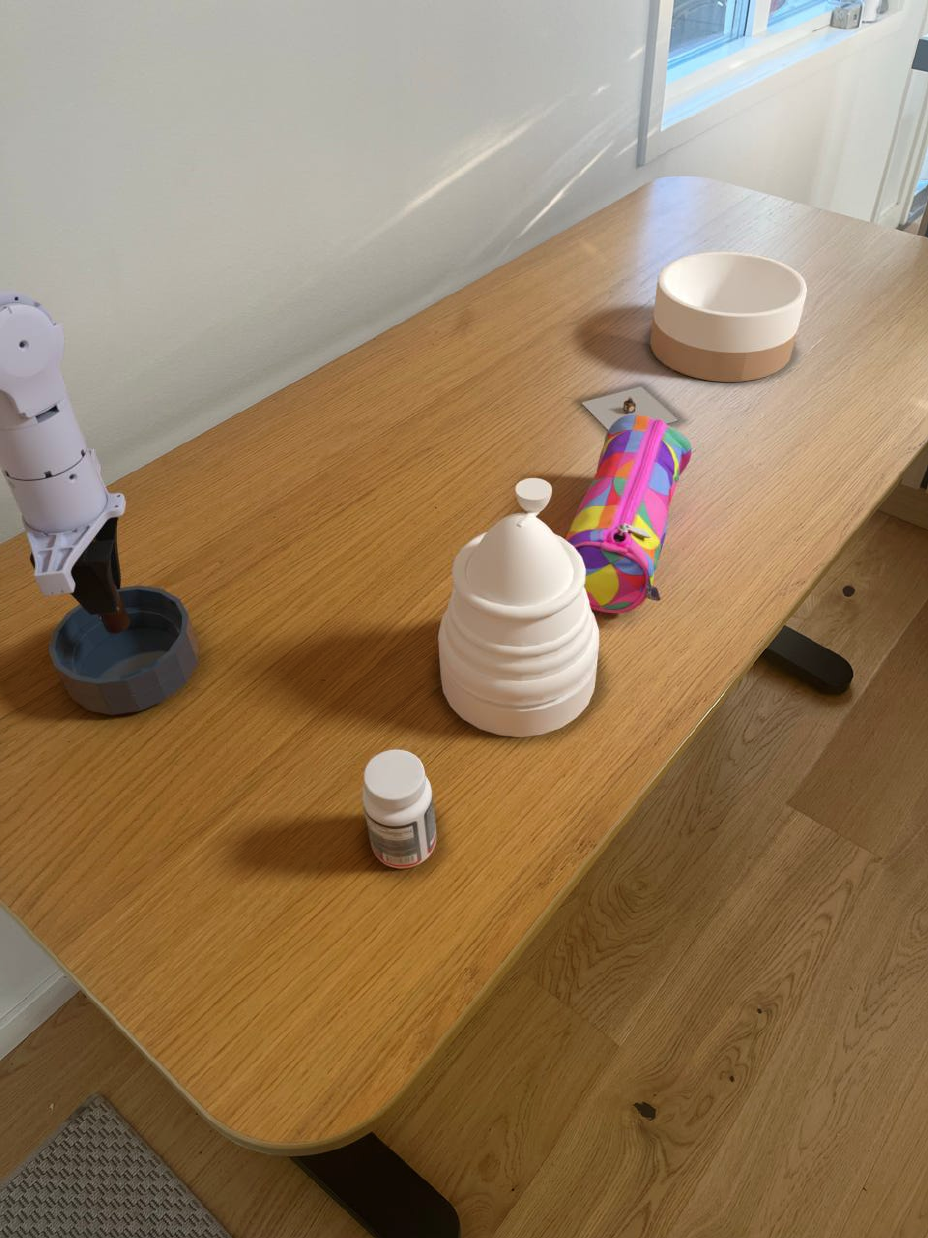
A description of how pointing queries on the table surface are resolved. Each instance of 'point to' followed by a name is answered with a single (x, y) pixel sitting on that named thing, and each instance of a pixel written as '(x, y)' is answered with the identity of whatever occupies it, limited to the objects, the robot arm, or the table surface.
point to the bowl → (726, 315)
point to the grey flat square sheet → (627, 407)
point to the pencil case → (628, 511)
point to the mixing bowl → (126, 653)
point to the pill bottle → (399, 809)
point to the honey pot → (519, 626)
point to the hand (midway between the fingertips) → (105, 599)
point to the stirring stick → (115, 615)
